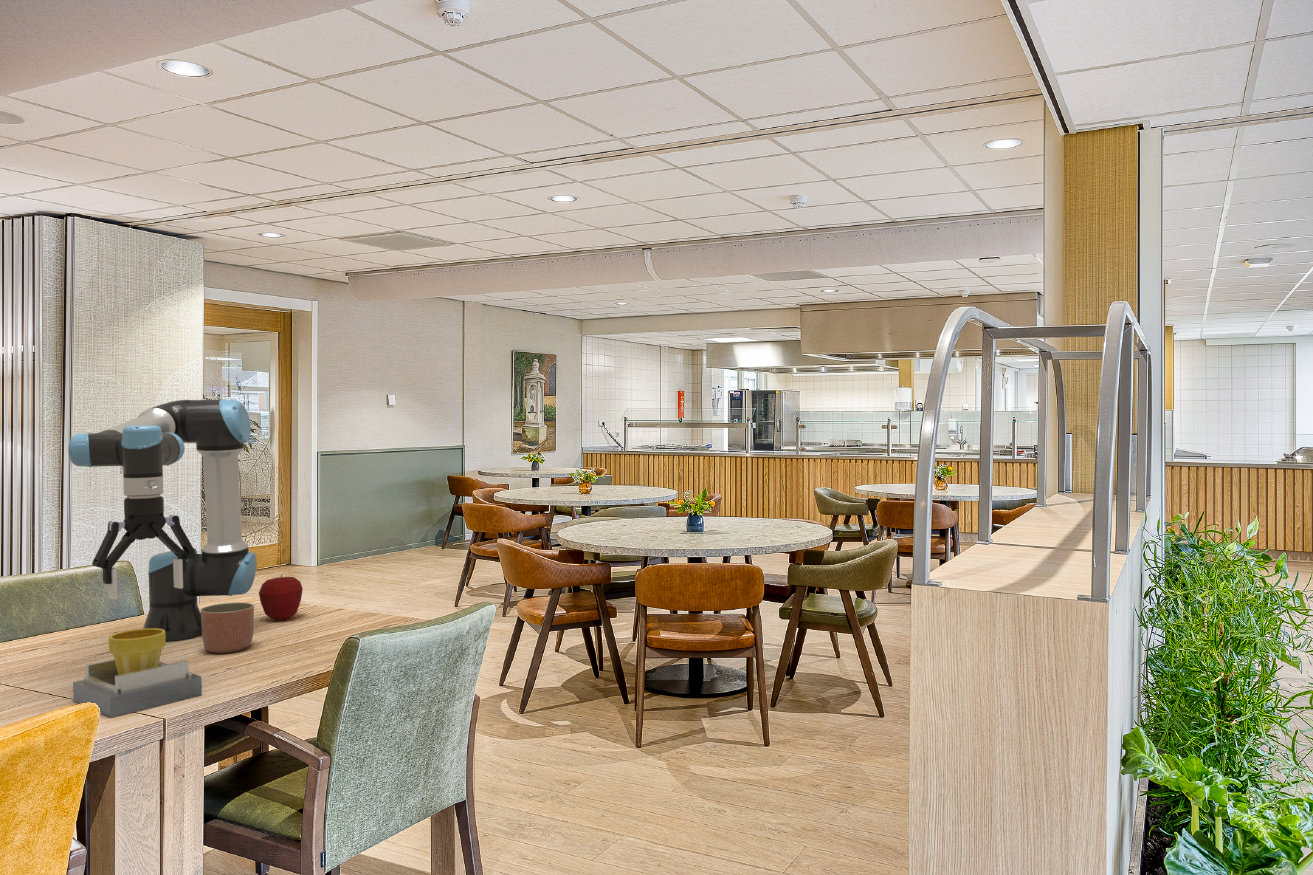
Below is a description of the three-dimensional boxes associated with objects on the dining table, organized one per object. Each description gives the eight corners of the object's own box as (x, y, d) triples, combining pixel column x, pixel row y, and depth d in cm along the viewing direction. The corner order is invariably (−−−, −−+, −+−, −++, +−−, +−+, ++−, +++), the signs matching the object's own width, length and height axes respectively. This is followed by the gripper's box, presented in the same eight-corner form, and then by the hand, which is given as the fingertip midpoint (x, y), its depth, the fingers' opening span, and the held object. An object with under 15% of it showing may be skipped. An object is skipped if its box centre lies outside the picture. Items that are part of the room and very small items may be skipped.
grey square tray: (70, 699, 189) (70, 664, 189) (159, 679, 203) (159, 646, 203) (110, 717, 177) (109, 680, 177) (201, 694, 192) (201, 660, 192)
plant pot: (126, 672, 195) (125, 627, 195) (175, 671, 195) (174, 627, 195) (99, 686, 185) (98, 639, 184) (150, 685, 185) (149, 638, 185)
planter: (265, 646, 233) (264, 604, 233) (224, 657, 222) (223, 614, 221) (231, 641, 238) (231, 600, 238) (190, 652, 227) (189, 609, 227)
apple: (294, 613, 272) (294, 569, 272) (309, 619, 264) (308, 574, 264) (253, 619, 264) (252, 574, 264) (267, 625, 256) (266, 579, 255)
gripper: (87, 502, 182) (90, 605, 183) (209, 492, 202) (212, 585, 203) (72, 500, 187) (75, 601, 188) (193, 490, 207) (195, 581, 208)
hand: (146, 593), depth 195 cm, fingers open, 13 cm apart
